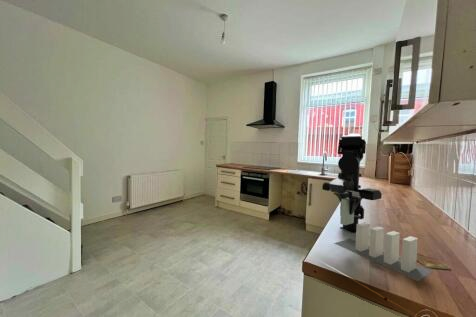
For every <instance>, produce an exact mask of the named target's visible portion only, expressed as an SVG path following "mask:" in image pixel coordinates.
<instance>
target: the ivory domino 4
mask: <svg viewBox="0 0 476 317" xmlns="http://www.w3.org/2000/svg"><path fill="white" fill-rule="evenodd" d="M418 240H419V239H418V238H417V237H414V236H412V235H411V236H407V237H404V238H402V242H401V243H402V244H401V247H402V248H401V269H402V270H404V271H406V272H410V271H412V270H414V269H415V268H416V265H417V262H418V261H417V253H418V243H419V242H418Z"/></svg>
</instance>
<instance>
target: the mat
mask: <svg viewBox="0 0 476 317" xmlns="http://www.w3.org/2000/svg"><path fill="white" fill-rule="evenodd" d="M334 244H335V245H337V246H339V247H341V248H343V249H345V250H348V251H351V252H353V253H355V254H357V255H360V256H361V257H363V258H366V259H368V260H370V261H373V262H374V263H376V264H378V265H381V266H384V267H386V268H388V269H390V270H393V271H395V272H397V273H399V274H400V275H401V274H402V275H404V276H406V277H408V278H411V279H412V280H415V281H417V282H419V281H422V279H424V278H426V277H427V276H428V275H430V274H432V273H433V272H434V271H433V270H431V269H428V268H427V267H424V266H420V265H418V264H416V268H415V269H414V270H412V271H410V272H406V271H404V270H402V269H401V259H402V257H401V258H400V257H399V258H398V261H397V262H395V263H393V264H391V265H390V264H388V263H386V262H384V251H383V255H380V256H378V257H375V258H374V257H372V256H369V249H367V250H364V251H361V252H360V251H358V250H356V249H355V248H356V239H352V238H347V239H343V240H340V241H337V242H334Z"/></svg>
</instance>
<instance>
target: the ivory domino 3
mask: <svg viewBox="0 0 476 317" xmlns="http://www.w3.org/2000/svg"><path fill="white" fill-rule="evenodd" d="M400 238H401V234H400V232H397V231H395V230H392V231H388V232H384V249H383V252H384V262H386V263H388V264H390V265H391V264H393V263H395V262H397V261H398V258H400V256H399V254H400Z"/></svg>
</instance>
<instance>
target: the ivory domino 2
mask: <svg viewBox="0 0 476 317" xmlns="http://www.w3.org/2000/svg"><path fill="white" fill-rule="evenodd" d="M384 240H385V228H384V227H381V226H375V227H374V226H373V227H370V233H369V256H372V257H374V258H375V257H378V256H380V255H383V252H384Z"/></svg>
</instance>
